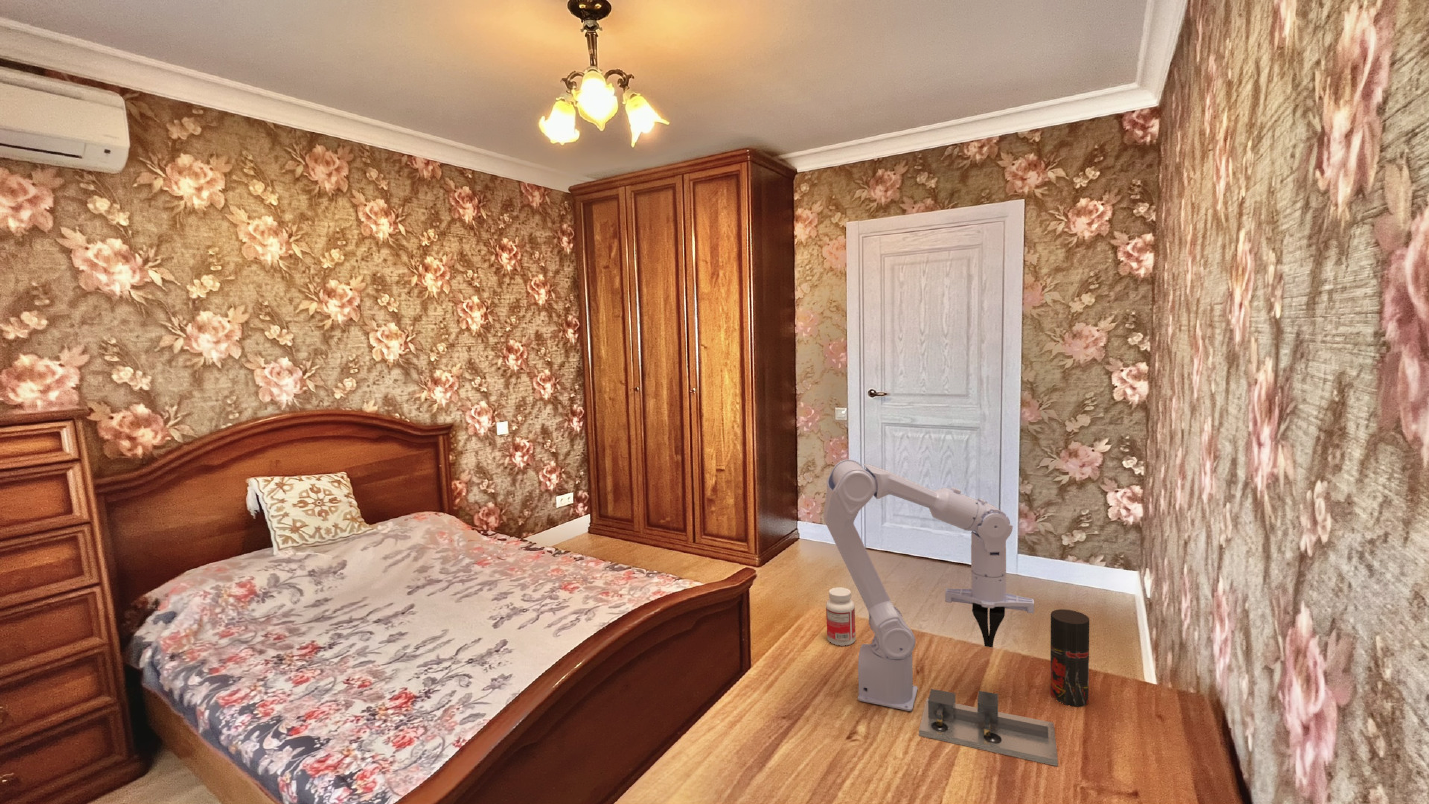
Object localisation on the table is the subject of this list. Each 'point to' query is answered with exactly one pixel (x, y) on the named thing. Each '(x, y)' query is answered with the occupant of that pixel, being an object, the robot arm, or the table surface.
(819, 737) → the table surface
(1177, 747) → the table surface
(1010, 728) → the beam
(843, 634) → the pill bottle
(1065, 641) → the deodorant
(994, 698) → the sliding leg
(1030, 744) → the hole plate
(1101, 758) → the table surface
